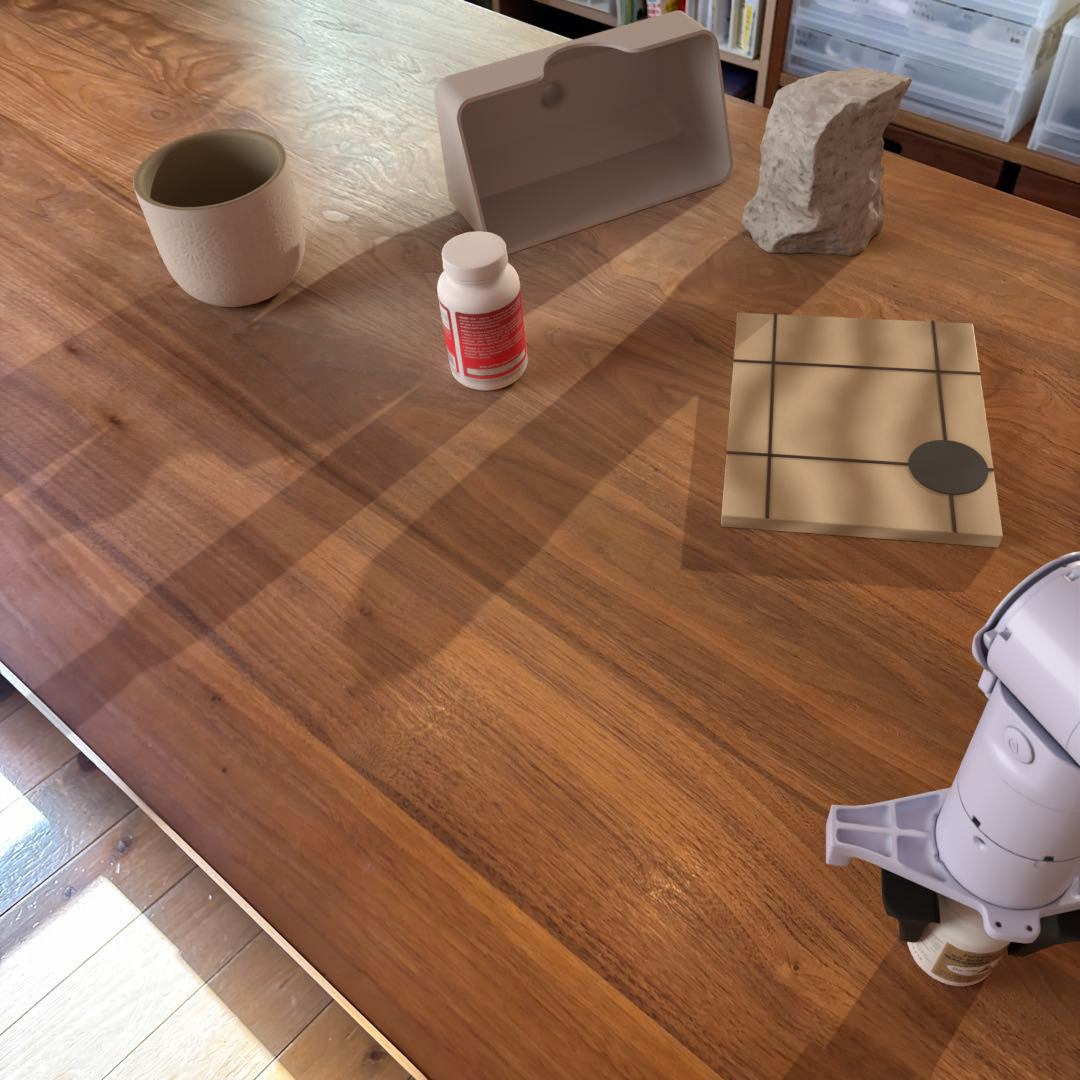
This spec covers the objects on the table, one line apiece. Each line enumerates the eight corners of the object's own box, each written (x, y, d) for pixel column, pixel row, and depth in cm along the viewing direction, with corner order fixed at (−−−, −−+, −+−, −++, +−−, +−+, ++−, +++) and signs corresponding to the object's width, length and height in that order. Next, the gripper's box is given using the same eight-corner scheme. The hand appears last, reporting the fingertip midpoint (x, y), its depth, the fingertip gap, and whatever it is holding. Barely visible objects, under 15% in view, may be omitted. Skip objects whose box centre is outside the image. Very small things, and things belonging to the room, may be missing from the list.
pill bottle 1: (544, 362, 88) (534, 243, 80) (491, 404, 85) (475, 285, 77) (486, 333, 91) (471, 214, 82) (434, 372, 88) (413, 254, 80)
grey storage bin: (650, 106, 113) (651, -21, 104) (734, 178, 103) (744, 45, 94) (424, 176, 107) (403, 48, 98) (490, 260, 97) (474, 126, 88)
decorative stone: (824, 191, 101) (846, 31, 90) (896, 237, 96) (929, 73, 85) (734, 230, 98) (746, 69, 87) (803, 280, 93) (824, 115, 82)
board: (969, 335, 87) (973, 322, 86) (998, 548, 72) (1003, 535, 71) (736, 324, 89) (737, 311, 88) (720, 527, 75) (721, 514, 74)
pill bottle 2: (941, 1004, 54) (978, 943, 48) (887, 924, 57) (915, 857, 51) (1015, 965, 55) (1059, 900, 49) (958, 888, 58) (993, 819, 52)
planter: (174, 334, 93) (129, 221, 85) (175, 252, 102) (135, 141, 93) (320, 308, 94) (290, 194, 86) (310, 228, 103) (282, 117, 94)
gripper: (846, 866, 43) (806, 990, 53) (1255, 916, 40) (1130, 1035, 51) (844, 711, 47) (807, 852, 58) (1211, 747, 45) (1105, 888, 55)
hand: (958, 928), depth 54 cm, fingers closed on pill bottle 2, 4 cm apart
